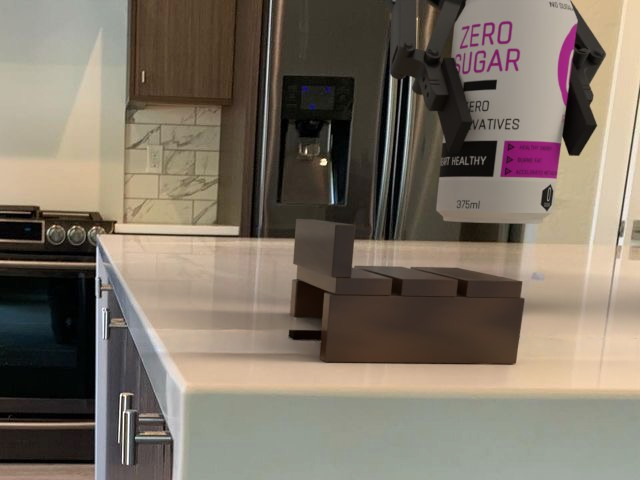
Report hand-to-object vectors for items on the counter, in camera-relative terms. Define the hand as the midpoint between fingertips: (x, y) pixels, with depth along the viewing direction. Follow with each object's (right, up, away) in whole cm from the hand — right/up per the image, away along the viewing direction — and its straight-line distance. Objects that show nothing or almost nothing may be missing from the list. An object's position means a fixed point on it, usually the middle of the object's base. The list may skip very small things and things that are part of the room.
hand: (522, 139), depth 66 cm
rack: (-10, -15, -4) cm, 18 cm away
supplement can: (0, -5, +5) cm, 7 cm away
